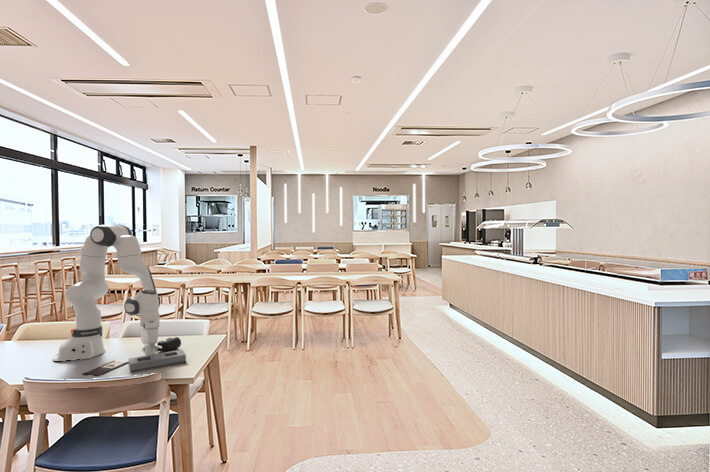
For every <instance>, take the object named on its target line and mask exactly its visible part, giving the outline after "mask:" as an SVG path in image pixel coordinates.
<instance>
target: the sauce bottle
mask: <svg viewBox="0 0 710 472" xmlns="http://www.w3.org/2000/svg"><path fill="white" fill-rule="evenodd" d="M140 339H141V343H142V344H143V345H144V346H145V344H147V343H148V342H147V339H146V337H145V333H144V329H143V327H141V331H140Z"/></svg>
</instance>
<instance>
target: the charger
mask: <svg viewBox="0 0 710 472" xmlns="http://www.w3.org/2000/svg"><path fill="white" fill-rule="evenodd" d="M152 354H156V353H155V350H154V351H151V350H150V344H149V343H147V344H145V345H144V356H146V355H152Z"/></svg>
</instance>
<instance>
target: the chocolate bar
mask: <svg viewBox="0 0 710 472" xmlns="http://www.w3.org/2000/svg"><path fill="white" fill-rule="evenodd" d="M126 365H129V361H124V360H121V361H120V360H112V361H110V362H107V363H105V364H102V365H101V366H98V367H95V368H93V369H90V370H87V371H85V372H83V373H82V374H83V375H82V376H88V375H93V376H92V377H101V376H103V375H106V374H107V373H108V374H109V373H110V372H112V371H114V370H116V369H118V368H121V367H123V366H126ZM100 375H101V376H100Z"/></svg>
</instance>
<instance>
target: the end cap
mask: <svg viewBox="0 0 710 472" xmlns="http://www.w3.org/2000/svg"><path fill="white" fill-rule="evenodd" d="M156 344H157V354H158V353H164V352H170V351H176V350H179V348H180V347H181V345H182V340H181V339H180V338H179V336H176V337H168V338H166V339H165V340H159V341H157V343H156Z"/></svg>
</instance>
